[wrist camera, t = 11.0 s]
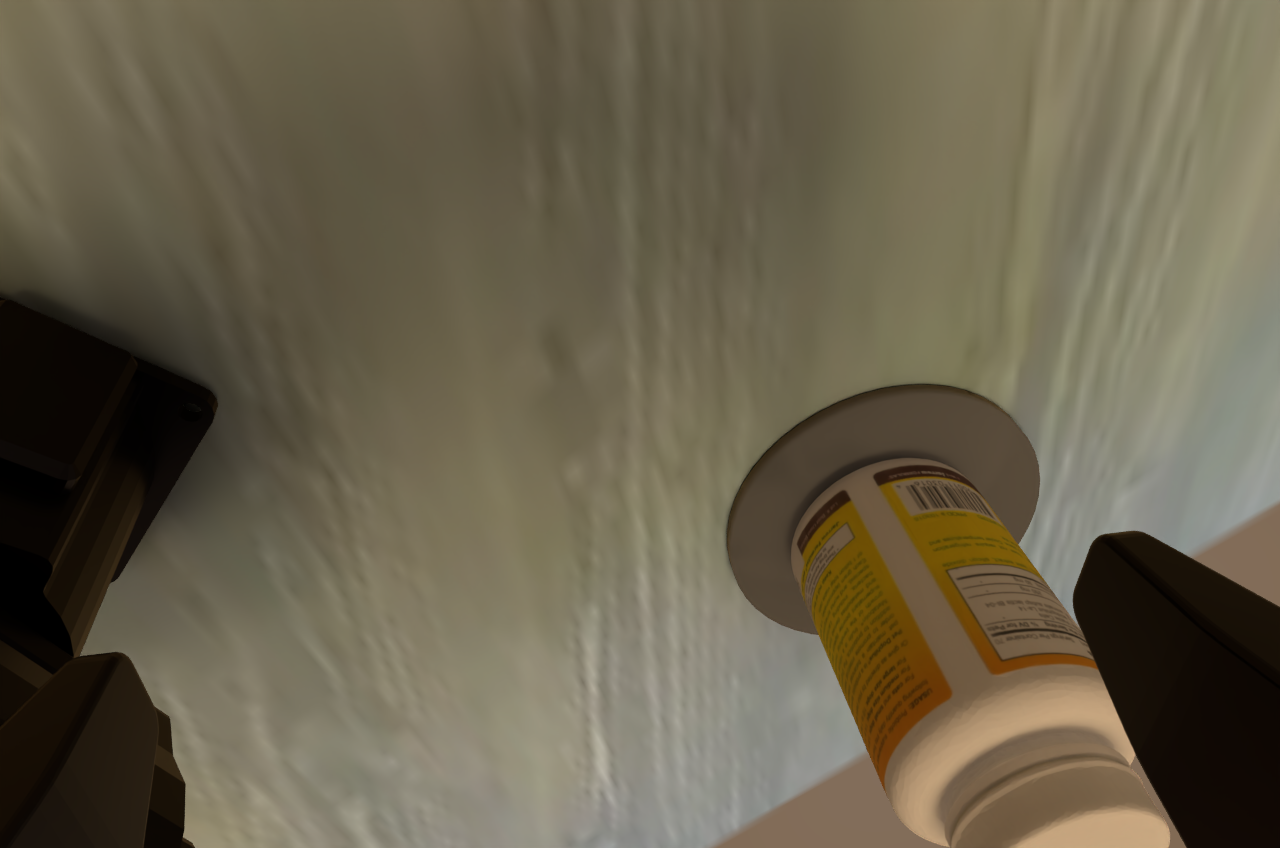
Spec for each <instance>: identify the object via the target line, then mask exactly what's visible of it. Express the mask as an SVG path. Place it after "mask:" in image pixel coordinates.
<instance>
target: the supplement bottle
mask: <svg viewBox="0 0 1280 848" xmlns="http://www.w3.org/2000/svg"><path fill="white" fill-rule="evenodd" d="M791 564H792V569H793V573H794V576H795V579H796V582H797V585H798V587H799V590H800V592H801V594H802V597H803V599H804V601H805V604H806V606H807V609H808V611H809V613H810V616H811V618H812V620H813V623H814V625H815V627H816V630H817V632H818V635H819V637H820V639H821V642H822V644H823V646H824V649H825V651H826V653H827V656H828V658H829V661H830V663H831V665H832V668H833V670H834V672H835V675H836V677H837V680H838V682H839V685H840V687H841V689H842V691H843V694H844V696H845V699H846V701H847V703H848V706H849V708H850V710H851V713H852V715H853V717H854V719H855V722H856V724H857V726H858V729H859V732H860V734H861V736H862V738H863V741H864V744H865V746H866V749H867V751H868V753H869V755H870V758H871V760H872V762H873V764H874V767H875V769H876V771H877V774H878V776H879V779H880V781H881V783H882V786H883V788H884V790H885V792H886V795H887V797H888V799H889V801H890V803H891V805H892V807H893V809H894V811H895V813H896V814H897V816H898V817H899V819H900V820H901V821H902V822H903V823H904V824H905V825H906V826H907V827H908V828H909V829H910V830H911V831H912V832H914V833H915V834H917V835H918V836H920V837H922V838H924V839H926V840H928V841H930V842H933V843H936V844H939V845H942V846H947V847H950V848H1168V847H1169V843H1170V832H1169V828H1168V825H1167V823H1166V821H1165V819H1164V818H1163V817H1162V815H1161V813H1160V812H1159V810H1158V809H1157V807H1156V806H1155V804H1154V802H1153V801H1152V799H1151V798H1150V796H1149V795H1148V793H1147V791H1146V790H1145V788H1144V785H1143V783H1142V780H1141V778H1140V777H1139V776H1138V774H1137V773H1136V772H1135V771H1133V770H1132V768H1131V767H1130V765H1131V763H1132V761H1133V758H1134V756H1135V752H1134V750H1133V748H1132V746H1131V744H1130V742H1129V739H1128V737H1127V735H1126V733H1125V731H1124V728H1123V726H1122V724H1121V721H1120V719H1119V717H1118V714H1117V712H1116V710H1115V707H1114V705H1113V703H1112V700H1111V698H1110V696H1109V693H1108V691H1107V689H1106V687H1105V684H1104V682H1103V680H1102V677H1101V675H1100V673H1099V670H1098V668H1097V666H1096V663H1095V661H1094V659H1093V656H1092V654H1091V652H1090V649H1089V647H1088V645H1087V642H1086V640H1085V638H1084V635H1083V633H1082V631H1081V630H1080V628H1079V627H1078V626H1077V624H1076V623H1075V622H1074V620H1073V619H1072V618H1071V616H1070V615H1069V613H1068V612H1067V611H1066V609H1065V608H1064V607H1063V605H1062V604H1061V602H1060V601H1059V600H1058V598H1057V597H1056V596H1055V594H1054V593H1053V591H1052V590H1051V589H1050V587H1049V586H1048V585H1047V583H1046V582H1045V581H1044V579H1043V578H1042V576H1041V575H1040V574H1039V572H1038V571H1037V570H1036V568H1035V567H1034V566H1033V564H1032V563H1031V562H1030V560H1029V559H1028V557H1027V556H1026V555H1025V553H1024V552H1023V551H1022V549H1021V548H1020V547H1019V545H1018V544H1017V542H1016V541H1015V540H1014V538H1013V537H1012V536H1011V534H1010V533H1009V532H1008V530H1007V529H1006V527H1005V526H1004V525H1003V523H1002V522H1001V520H1000V519H999V518H998V517H997V515H996V514H995V513H994V511H993V510H992V508H991V507H990V506H989V504H988V503H987V502H986V500H985V499H984V497H983V496H982V495H981V493H980V492H979V491H978V490H977V488H976V487H975V486H974V485H973V484H972V483H971V482H970V481H969V479H967V478H966V477H965V476H964V475H963V474H961V473H960V472H959V471H957V470H955V469H954V468H952V467H950V466H948V465H945V464H943V463H940V462H937V461H933V460H928V459H920V458H899V459H892V460H886V461H881V462H877V463H874V464H871V465H868V466H865V467H863V468H860V469H858V470H856V471H854V472H852V473H850V474H848V475H846V476H844V477H843V478H841V479H840V480H838V481H837V482H835V483H834V484H832V485H831V486H830V487H829V488H827V489H826V490H825V491H824V492H823V493H822V494H821V495H820V496H819V497H818V498H817V499H816V500H815V501H814V502H813V503H812V504H811V505H810V506H809V508H808V509H807V511H806V512H805V514H804V515H803V517H802V518H801V520H800V522H799V524H798V526H797V528H796V531H795V534H794V537H793V542H792V548H791Z"/></svg>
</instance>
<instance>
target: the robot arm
mask: <svg viewBox="0 0 1280 848" xmlns="http://www.w3.org/2000/svg"><path fill="white" fill-rule="evenodd" d="M185 403H191V404H195V405H197V406H198V407H200V409H201V411H198V412H194V411H189V410H188V409H186V408H185V407H184V405H183V404H185ZM217 407H218V403H217V399H216V397H215V396H214V395H213V393H212V392H211V391H210V390H208V389H206V388H205V387H203V386H201V385H199V384H196V383H194V382H192V381H189V380H187V379H185V378H183V377H180V376H178V375H176V374H174V373H171V372H169V371H167V370H164V369H162V368H160V367H158V366H155V365H153V364H151V363H149V362H146V361H144V360H142V359H139V358H137V357H135V356H133V355H131V354H130V353H129V352H127V351H125V350H123V349H121V348H118V347H116V346H114V345H112V344H109V343H107V342H105V341H102V340H100V339H98V338H96V337H93V336H91V335H89V334H87V333H84V332H82V331H80V330H78V329H75V328H73V327H71V326H68V325H66V324H64V323H62V322H59V321H57V320H55V319H53V318H50V317H48V316H46V315H43V314H41V313H39V312H37V311H34V310H32V309H30V308H28V307H25V306H23V305H21V304H18V303H16V302H14V301H11V300H5V299H3V298H1V297H0V848H195V847H194V845H193V843H191V842H190V841H188V840H186V839H185V838H183V833H184V820H185V782H184V779H183V777H182V775H181V773H180V771H179V768H178V766H177V764H176V762H175V759H174V757H173V749H172V736H171V723H170V718H169V716H167V715H166V714H165V713H163V712H162V711H160V710H159V709H157V708H156V707H155V706H154V705H153V703H152V701H151V699H150V697H149V695H148V693H147V691H146V689H145V687H144V685H143V683H142V681H141V679H140V677H139V675H138V673H137V671H136V669H135V667H134V665H133V663H132V661H131V660H130V658H129V657H128V656H126V655H125V654H123V653H119V652H112V653H103V654H95V655H87V656H80V654H81V651H82V649H83V646H84V644H85V642H86V639H87V637H88V634H89V632H90V630H91V627H92V625H93V622H94V620H95V618H96V615H97V613H98V611H99V608H100V606H101V603H102V601H103V599H104V596H105V594H106V591H107V589H108V587H109V584H110V583H111V582H114V581H115V580H116V579H117V578H118V577H119V576H120V574H121V573H122V571H123V569H124V568H125V566H126V564H127V563H128V561H129V559H130V558H131V556H132V554H133V553H134V551H135V549H136V548H137V546H138V544H139V543H140V541H141V539H142V538H143V536H144V534H145V533H146V531H147V529H148V528H149V526H150V525H151V523H152V521H153V520H154V518H155V516H156V515H157V513H158V511H159V510H160V508H161V506H162V505H163V503H164V501H165V500H166V498H167V496H168V495H169V493H170V491H171V490H172V488H173V486H174V485H175V483H176V481H177V480H178V478H179V476H180V475H181V473H182V471H183V470H184V468H185V467H186V465H187V463H188V462H189V460H190V458H191V457H192V455H193V453H194V452H195V450H196V448H197V447H198V445H199V443H200V442H201V440H202V438H203V437H204V435H205V433H206V432H207V430H208V428H209V427H210V425H211V423H212V422H213V419H214V416H215V413H216V410H217ZM1073 608H1074V613H1075V616H1076V619H1077V621H1078V624H1079V626H1080V628H1081V631H1082V633H1083V635H1084V638H1085V640H1086V642H1087V645H1088V647H1089V649H1090V652H1091V654H1092V656H1093V659H1094V661H1095V663H1096V666H1097V668H1098V670H1099V673H1100V675H1101V677H1102V680H1103V682H1104V684H1105V687H1106V689H1107V691H1108V693H1109V696H1110V698H1111V700H1112V703H1113V705H1114V707H1115V710H1116V712H1117V714H1118V717H1119V719H1120V721H1121V724H1122V726H1123V728H1124V731H1125V733H1126V735H1127V737H1128V739H1129V742H1130V744H1131V746H1132V748H1133V750H1134V752H1135V754H1136V756H1137V758H1138V760H1139V762H1140V764H1141V766H1142V768H1143V770H1144V772H1145V774H1146V775H1147V777H1148V779H1149V781H1150V783H1151V784H1152V786H1153V788H1154V790H1155V792H1156V794H1157V795H1158V797H1159V799H1160V801H1161V802H1162V804H1163V806H1164V808H1165V810H1166V812H1167V813H1168V815H1169V817H1170V819H1171V821H1172V822H1173V824H1174V826H1175V828H1176V829H1177V831H1178V833H1179V835H1180V837H1181V839H1182V840H1183V842H1184V844H1185V846H1186V847H1187V848H1280V607H1279V606H1277V605H1275V604H1274V603H1272V602H1270V601H1268V600H1266V599H1264V598H1263V597H1261V596H1259V595H1257V594H1256V593H1254V592H1252V591H1250V590H1248V589H1246V588H1245V587H1242V586H1241V585H1239V584H1237V583H1236V582H1234V581H1232V580H1230V579H1228V578H1226V577H1225V576H1223V575H1221V574H1219V573H1217V572H1216V571H1214V570H1212V569H1210V568H1208V567H1206V566H1205V565H1203V564H1201V563H1199V562H1197V561H1195V560H1194V559H1192V558H1190V557H1188V556H1187V555H1185V554H1183V553H1181V552H1179V551H1177V550H1176V549H1174V548H1172V547H1170V546H1168V545H1167V544H1165V543H1163V542H1161V541H1159V540H1157V539H1156V538H1154V537H1152V536H1150V535H1148V534H1146V533H1144V532H1140V531H1126V532H1118V533H1109V534H1103V535H1100V536H1098V537H1097V538H1096V539H1095V540H1094V541H1093V542H1092V544H1091V546H1090V549H1089V552H1088V554H1087V557H1086V560H1085V562H1084V565H1083V568H1082V570H1081V573H1080V576H1079V578H1078V581H1077V584H1076V586H1075V589H1074V593H1073Z"/></svg>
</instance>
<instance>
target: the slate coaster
mask: <svg viewBox="0 0 1280 848" xmlns="http://www.w3.org/2000/svg"><path fill="white" fill-rule="evenodd" d="M899 458H920V459H928V460H933V461H937V462H940V463H943V464H945V465H948V466H950V467H952V468H954V469H955V470H957V471H959V472H960V473H961V474H963V475H964V476H965V477H966V478H967V479H969V481H970V482H971V483H972V484H973V485H974V486H975V487H976V488H977V490H978V491H979V492H980V493H981V495H982V496H983V497H984V499H985V500H986V502H987V503H988V504H989V506H990V507H991V508H992V510H993V511H994V513H995V514H996V515H997V517H998V518H999V519H1000V520H1001V522H1002V523H1003V525H1004V526H1005V527H1006V529H1007V530H1008V532H1009V533H1010V534H1011V536H1012V537H1013V538H1014V540H1015V541H1016V542H1017V544H1019V542H1020V541H1021V539H1022V537H1023V536H1024V534H1025V532H1026V530H1027V529H1028V527H1029V524H1030V522H1031V520H1032V517H1033V515H1034V512H1035V509H1036V505H1037V501H1038V497H1039V487H1040V475H1039V465H1038V461H1037V458H1036V455H1035V451H1034V449H1033V447H1032V445H1031V444H1030V442H1029V440H1028V438H1027V437H1026V435H1025V434H1024V433H1023V432H1022V430H1021V429H1020V428H1019V427H1018V426H1017V424H1016V423H1015V422H1014V421H1013V419H1012V418H1011V417H1010V416H1009V415H1008V414H1007V413H1006V412H1005V411H1003V410H1002V409H1001V408H1000V407H999V406H997V405H996V404H994V403H992V402H991V401H989V400H987V399H986V398H984V397H982V396H979V395H977V394H974V393H971V392H969V391H966V390H962V389H957V388H953V387H948V386H939V385H927V384H926V385H904V386H897V387H890V388H883V389H879V390H876V391H872V392H868V393H864V394H860V395H858V396H855V397H852V398H850V399H847V400H844V401H841V402H839V403H837V404H835V405H833V406H831V407H829V408H827V409H824V410H822V411H820V412H819V413H817V414H815V415H814V416H812V417H810V418H809V419H807V420H805V421H804V422H802V423H801V424H799V425H798V426H796V427H795V428H794V429H793V430H791V431H790V432H789V433H787V434H786V435H785V436H783V437H782V438H781V439H780V440H779V441H778V442H777V443H776V444H775V445H774V446H772V447H771V448H770V449H769V450H768V451H767V452H766V453H765V454H764V456H763V457H762V458H761V459H760V460H759V462H758V463H757V464H756V465H755V466H754V467H753V469H752V470H751V472H750V473H749V475H748V476H747V478H746V479H745V481H744V482H743V484H742V486H741V488H740V490H739V492H738V494H737V496H736V498H735V500H734V504H733V507H732V510H731V513H730V516H729V522H728V528H727V549H728V554H729V559H730V563H731V566H732V569H733V572H734V575H735V578H736V580H737V582H738V585H739V587H740V589H741V590H742V592H743V593H744V595H745V597H746V598H747V599H748V600H749V601H750V603H751V604H752V605H753V606H754V607H755V608H756V609H757V610H759V611H760V612H761V613H763V614H764V615H765V616H767V617H768V618H770V619H771V620H773V621H775V622H777V623H779V624H781V625H783V626H786V627H788V628H791V629H794V630H797V631H801V632H805V633H810V634H816V635H818V632H817V630H816V627H815V625H814V623H813V620H812V618H811V616H810V613H809V611H808V609H807V606H806V604H805V601H804V599H803V597H802V594H801V592H800V590H799V587H798V585H797V582H796V579H795V576H794V573H793V569H792V564H791V548H792V542H793V537H794V534H795V531H796V528H797V526H798V524H799V522H800V520H801V518H802V517H803V515H804V514H805V512H806V511H807V509H808V508H809V506H810V505H811V504H812V503H813V502H814V501H815V500H816V499H817V498H818V497H819V496H820V495H821V494H822V493H823V492H824V491H825V490H826V489H827V488H829V487H830V486H831V485H832V484H834V483H835V482H837V481H838V480H840V479H841V478H843V477H844V476H846V475H848V474H850V473H852V472H854V471H856V470H858V469H860V468H863V467H865V466H868V465H871V464H874V463H877V462H881V461H886V460H892V459H899Z"/></svg>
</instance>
